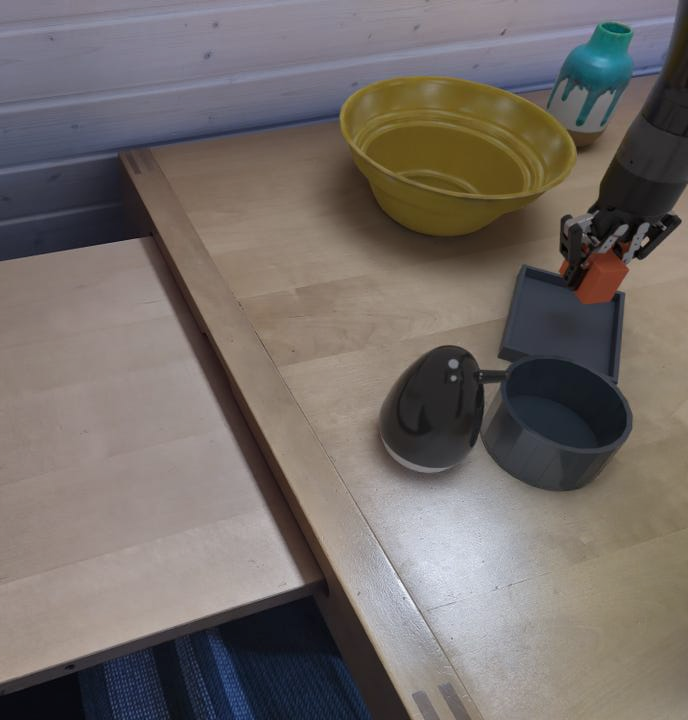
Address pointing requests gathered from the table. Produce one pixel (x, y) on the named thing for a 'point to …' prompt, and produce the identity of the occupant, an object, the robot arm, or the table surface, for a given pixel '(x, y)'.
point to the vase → (593, 82)
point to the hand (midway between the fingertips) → (585, 284)
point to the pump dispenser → (436, 409)
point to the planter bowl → (453, 151)
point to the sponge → (600, 278)
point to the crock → (555, 422)
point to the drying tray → (562, 323)
